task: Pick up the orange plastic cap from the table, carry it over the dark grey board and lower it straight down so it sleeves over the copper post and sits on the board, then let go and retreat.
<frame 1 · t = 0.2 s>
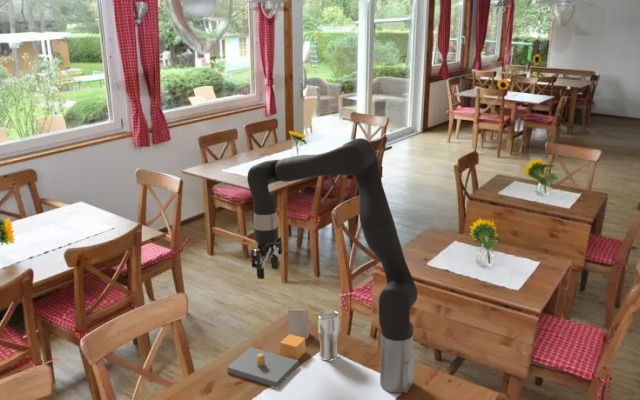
hand: (268, 273, 189), 28 cm above the table, fingers open, 8 cm apart
board: (263, 369, 186), on the table
beer glass: (328, 356, 193), on the table
cap: (293, 353, 194), on the table
grey cardboard box: (298, 336, 205), on the table
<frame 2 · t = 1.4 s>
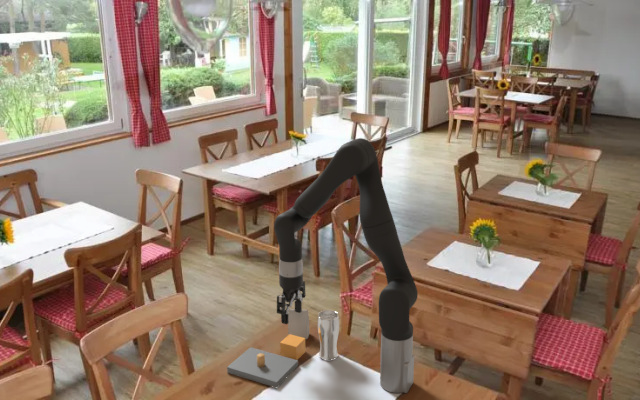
hand: (291, 317, 190), 13 cm above the table, fingers open, 8 cm apart
nothing on the table moved.
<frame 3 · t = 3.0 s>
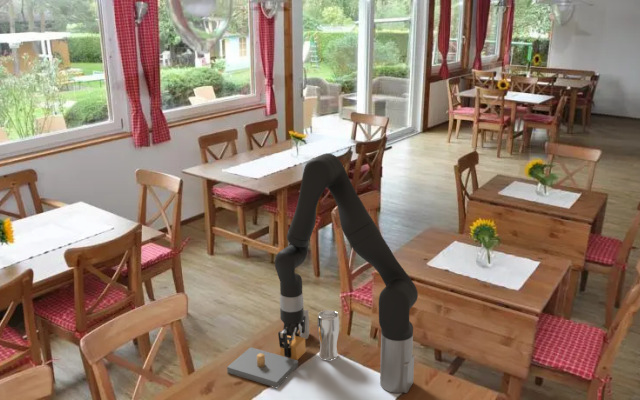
hand: (293, 351, 194), 1 cm above the table, fingers closed on cap, 6 cm apart
cap: (293, 353, 194), on the table, touching gripper
everything else where it was.
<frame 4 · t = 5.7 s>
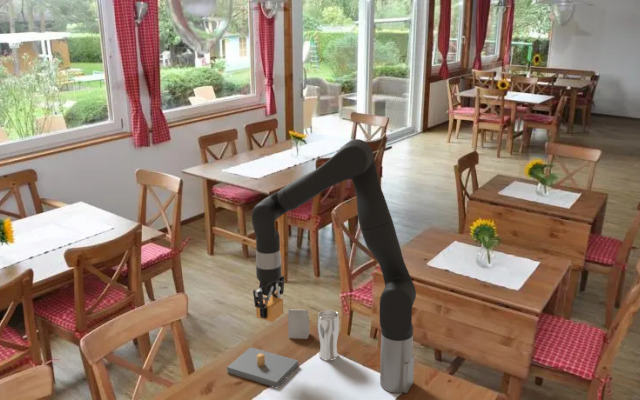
hand: (269, 313, 183), 18 cm above the table, fingers closed on cap, 6 cm apart
cap: (270, 315, 184), point 17 cm above the table, touching gripper
everything else where it was.
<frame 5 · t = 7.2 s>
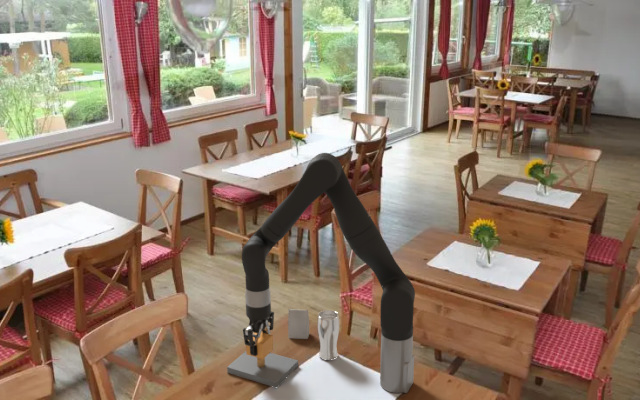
hand: (260, 349, 183), 8 cm above the table, fingers closed on cap, 6 cm apart
cap: (259, 351, 183), point 7 cm above the table, touching gripper
everything else where it was.
when the fingers open (4 cm above the table, at t = 8.5 s): cap stays where it is, resting on board.
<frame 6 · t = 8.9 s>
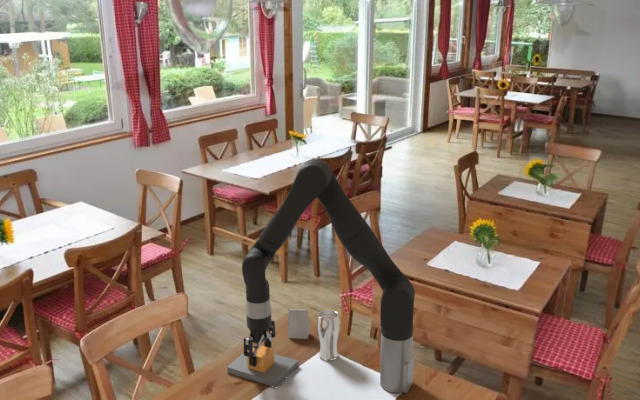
hand: (260, 358, 184), 4 cm above the table, fingers open, 8 cm apart
cap: (261, 365, 184), point 2 cm above the table, touching board
everything else where it was.
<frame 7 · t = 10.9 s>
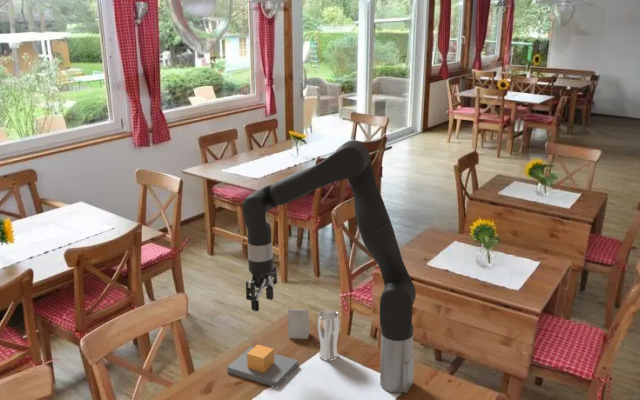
hand: (262, 304, 182), 21 cm above the table, fingers open, 8 cm apart
nothing on the table moved.
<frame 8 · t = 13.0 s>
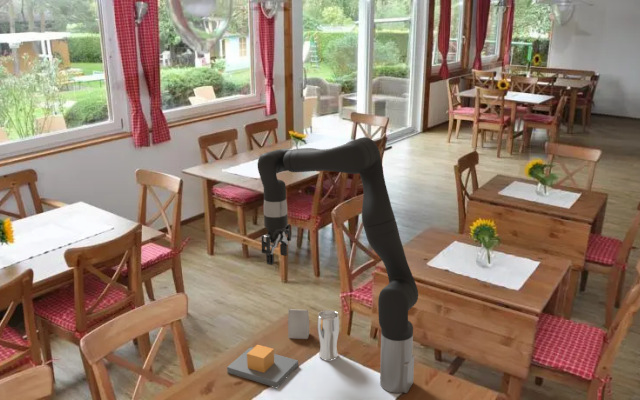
hand: (277, 259, 193), 30 cm above the table, fingers open, 8 cm apart
nothing on the table moved.
at the end: cap 0.0 cm from the target spot on the board, point 2.0 cm above the board's base; cap tilted 0°; the gripper is holding nothing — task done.
